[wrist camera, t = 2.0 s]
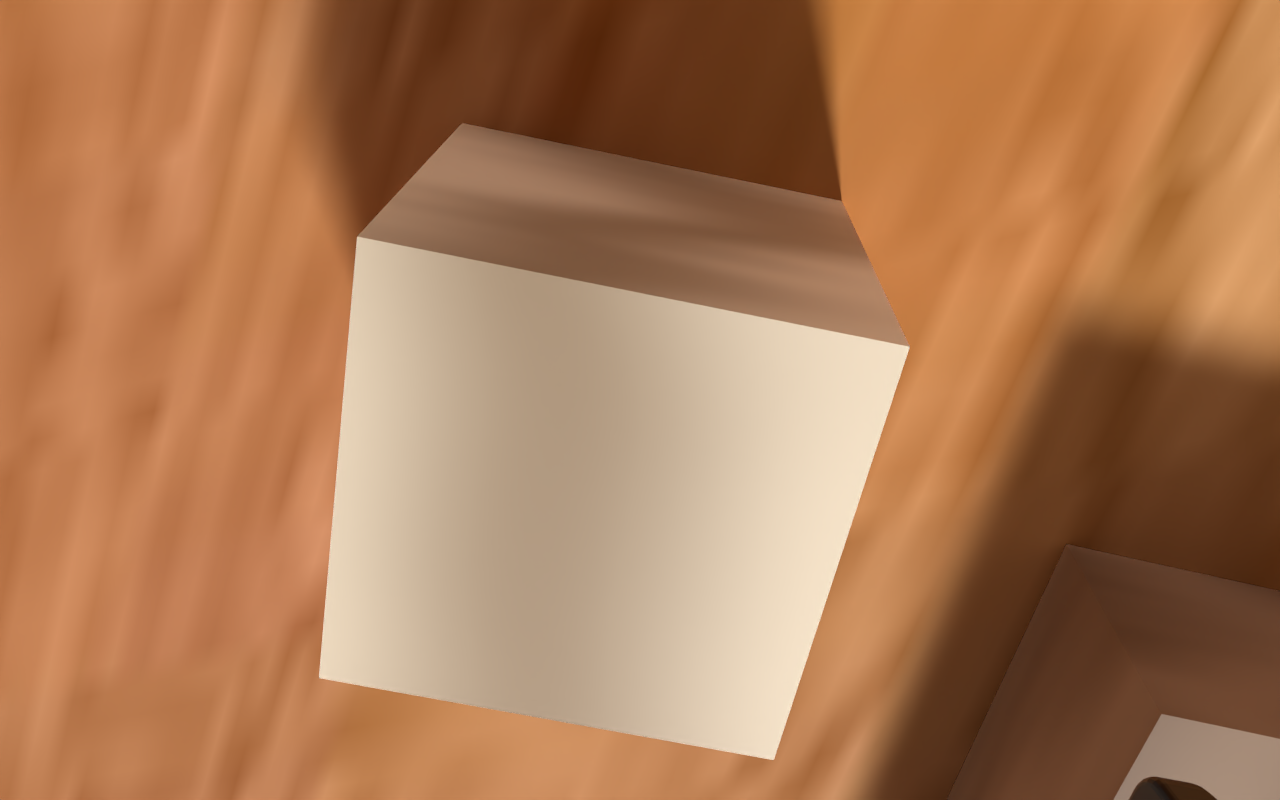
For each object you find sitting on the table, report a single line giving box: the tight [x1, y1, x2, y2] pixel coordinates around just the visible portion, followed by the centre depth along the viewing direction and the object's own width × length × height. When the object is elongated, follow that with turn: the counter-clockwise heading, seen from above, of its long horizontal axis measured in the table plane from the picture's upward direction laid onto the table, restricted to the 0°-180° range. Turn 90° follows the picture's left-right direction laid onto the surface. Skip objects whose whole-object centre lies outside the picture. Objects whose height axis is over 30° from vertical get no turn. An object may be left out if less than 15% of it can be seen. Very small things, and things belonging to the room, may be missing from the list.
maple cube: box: [319, 123, 910, 760], centre depth 13 cm, size 5×5×5 cm
